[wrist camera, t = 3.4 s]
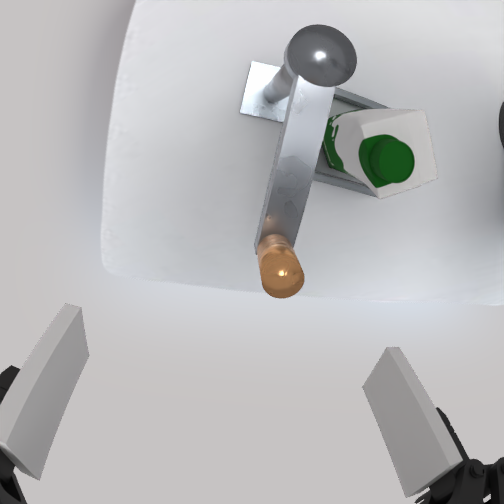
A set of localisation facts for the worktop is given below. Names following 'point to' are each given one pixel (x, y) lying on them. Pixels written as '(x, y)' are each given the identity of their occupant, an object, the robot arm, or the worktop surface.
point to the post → (267, 91)
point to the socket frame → (339, 181)
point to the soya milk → (381, 148)
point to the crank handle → (299, 150)
